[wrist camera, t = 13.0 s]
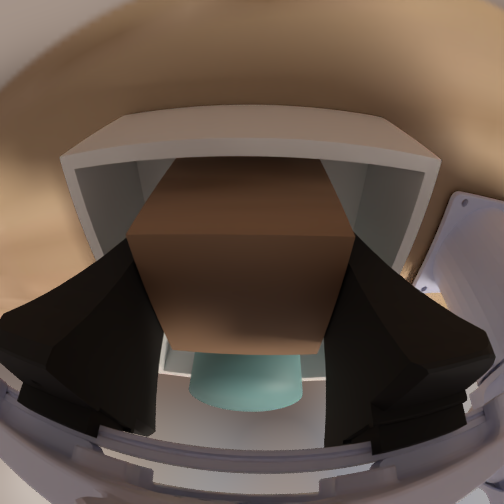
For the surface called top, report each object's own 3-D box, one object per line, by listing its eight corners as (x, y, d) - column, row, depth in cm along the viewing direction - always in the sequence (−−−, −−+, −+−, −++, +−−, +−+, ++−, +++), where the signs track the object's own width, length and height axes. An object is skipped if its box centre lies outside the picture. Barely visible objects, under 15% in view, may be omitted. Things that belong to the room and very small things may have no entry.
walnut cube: (303, 257, 13) (317, 354, 9) (195, 255, 13) (172, 350, 9) (316, 153, 9) (355, 236, 6) (179, 153, 9) (125, 234, 6)
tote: (381, 117, 10) (441, 159, 6) (330, 316, 19) (340, 378, 15) (124, 115, 10) (59, 157, 7) (172, 312, 19) (158, 373, 16)
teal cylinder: (291, 308, 18) (297, 410, 12) (215, 308, 18) (202, 409, 13) (295, 249, 15) (308, 373, 9) (201, 251, 15) (174, 371, 10)
